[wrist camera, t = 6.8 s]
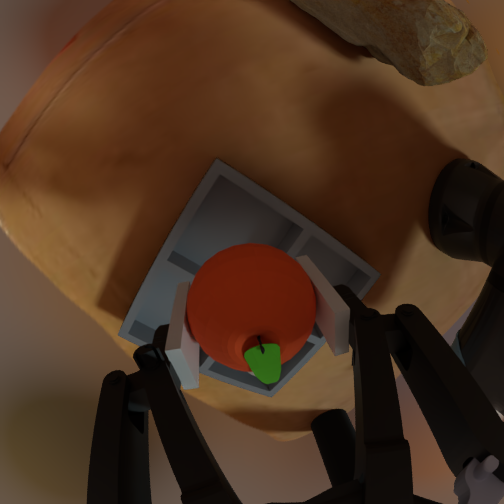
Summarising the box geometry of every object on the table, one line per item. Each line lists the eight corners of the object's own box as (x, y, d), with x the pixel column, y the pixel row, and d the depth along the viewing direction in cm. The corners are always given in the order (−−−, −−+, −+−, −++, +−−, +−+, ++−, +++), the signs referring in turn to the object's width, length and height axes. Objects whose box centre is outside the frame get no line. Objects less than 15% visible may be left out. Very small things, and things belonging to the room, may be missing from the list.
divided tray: (365, 261, 34) (381, 274, 30) (266, 377, 39) (271, 397, 35) (216, 157, 27) (216, 158, 23) (125, 316, 32) (117, 335, 28)
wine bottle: (346, 404, 45) (406, 532, 17) (347, 421, 48) (398, 535, 20) (308, 418, 45) (357, 553, 17) (313, 434, 48) (355, 553, 20)
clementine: (305, 318, 20) (341, 388, 13) (214, 343, 20) (218, 422, 13) (285, 213, 17) (331, 258, 10) (175, 244, 17) (154, 307, 10)
